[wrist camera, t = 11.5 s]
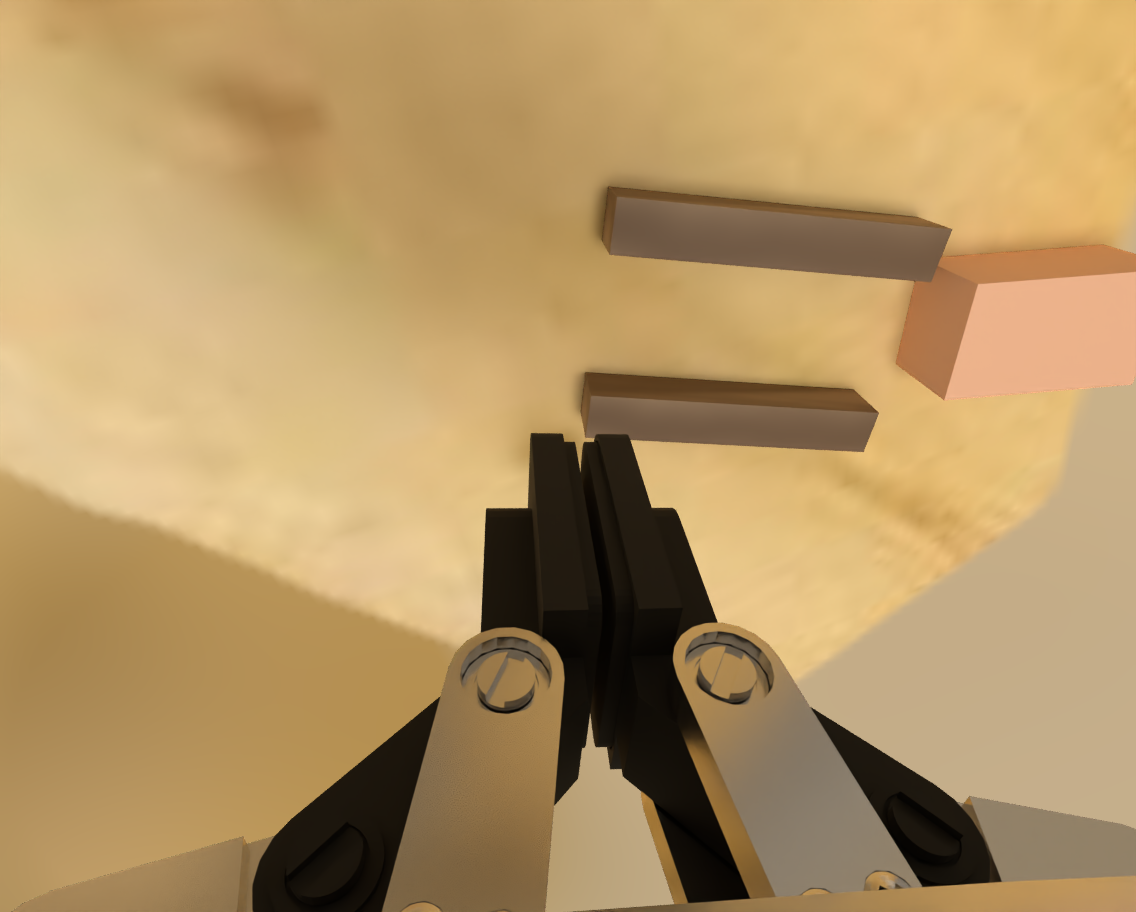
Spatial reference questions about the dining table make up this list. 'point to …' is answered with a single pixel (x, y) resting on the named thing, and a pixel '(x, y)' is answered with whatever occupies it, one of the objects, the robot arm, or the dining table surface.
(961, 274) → the block
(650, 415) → the chute
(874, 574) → the dining table surface
